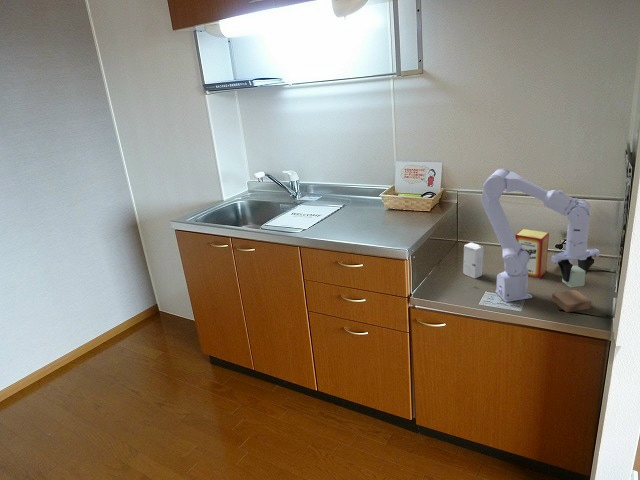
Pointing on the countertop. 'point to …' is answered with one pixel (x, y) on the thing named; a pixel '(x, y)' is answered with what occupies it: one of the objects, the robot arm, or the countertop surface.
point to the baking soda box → (535, 250)
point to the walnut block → (571, 301)
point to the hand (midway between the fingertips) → (573, 279)
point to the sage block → (576, 277)
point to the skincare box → (473, 260)
